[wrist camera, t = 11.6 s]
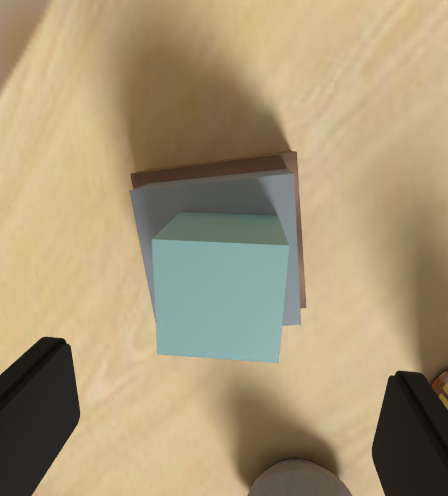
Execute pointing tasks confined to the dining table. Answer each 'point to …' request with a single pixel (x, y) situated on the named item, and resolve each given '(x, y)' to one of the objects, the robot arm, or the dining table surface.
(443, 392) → the sauce bottle
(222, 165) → the bottom block
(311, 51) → the dining table surface
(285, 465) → the coffee pot
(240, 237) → the teal cube
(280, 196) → the top block
